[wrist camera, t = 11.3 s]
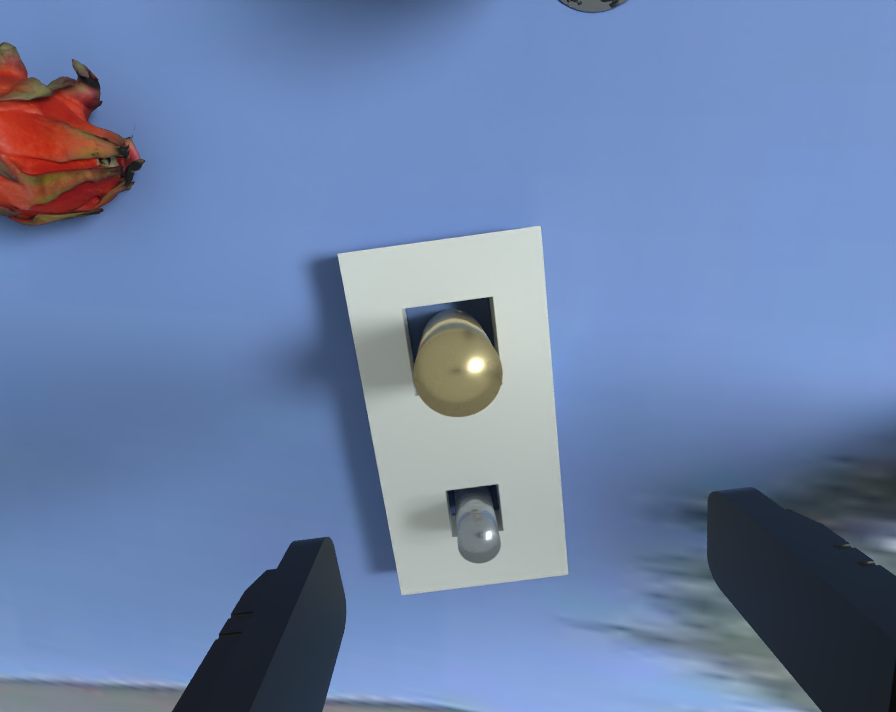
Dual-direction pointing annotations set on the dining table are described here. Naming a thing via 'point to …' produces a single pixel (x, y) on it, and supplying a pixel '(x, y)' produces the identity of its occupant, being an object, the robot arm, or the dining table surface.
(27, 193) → the dragon fruit
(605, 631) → the dining table surface
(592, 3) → the wine glass
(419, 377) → the cylinder
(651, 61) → the dining table surface
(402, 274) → the plate
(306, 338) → the dining table surface
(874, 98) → the dining table surface
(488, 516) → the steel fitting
